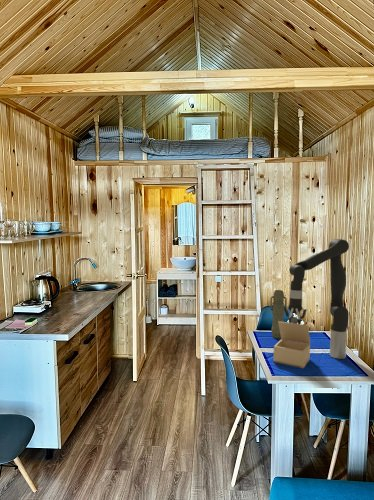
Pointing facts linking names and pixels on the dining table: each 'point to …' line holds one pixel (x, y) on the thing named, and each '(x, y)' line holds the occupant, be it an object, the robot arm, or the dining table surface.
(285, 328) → the carton flap
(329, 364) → the dining table surface
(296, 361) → the carton
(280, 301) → the thermos
